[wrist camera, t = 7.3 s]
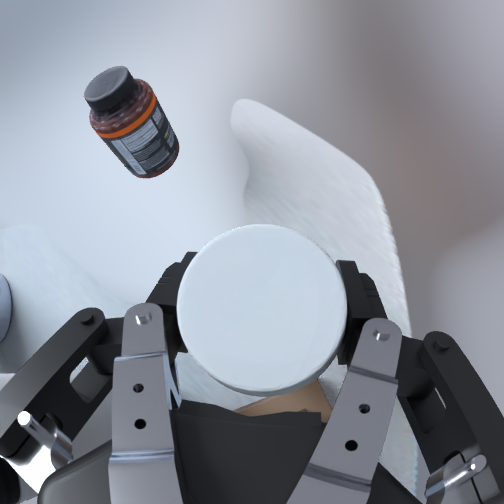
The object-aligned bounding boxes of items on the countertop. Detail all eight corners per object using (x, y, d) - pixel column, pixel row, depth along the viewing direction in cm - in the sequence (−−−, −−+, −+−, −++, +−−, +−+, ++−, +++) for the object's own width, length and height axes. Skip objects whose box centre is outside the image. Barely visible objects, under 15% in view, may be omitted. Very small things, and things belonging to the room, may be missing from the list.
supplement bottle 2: (292, 386, 15) (315, 455, 5) (204, 345, 16) (115, 355, 6) (332, 298, 16) (403, 249, 6) (245, 260, 17) (210, 170, 7)
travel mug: (170, 439, 20) (-7, 557, 1) (105, 417, 21) (-81, 464, 2) (176, 373, 22) (-58, 423, 3) (110, 356, 23) (-103, 344, 3)
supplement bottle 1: (125, 149, 29) (75, 81, 18) (174, 126, 29) (136, 48, 18) (133, 190, 27) (71, 122, 16) (187, 165, 27) (144, 82, 16)
